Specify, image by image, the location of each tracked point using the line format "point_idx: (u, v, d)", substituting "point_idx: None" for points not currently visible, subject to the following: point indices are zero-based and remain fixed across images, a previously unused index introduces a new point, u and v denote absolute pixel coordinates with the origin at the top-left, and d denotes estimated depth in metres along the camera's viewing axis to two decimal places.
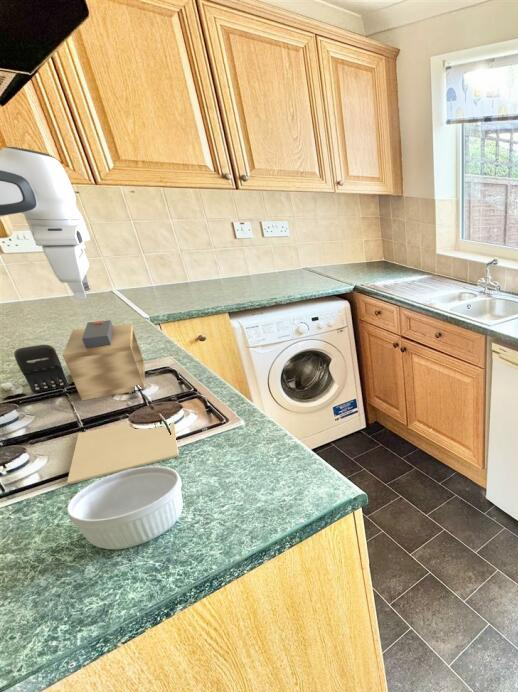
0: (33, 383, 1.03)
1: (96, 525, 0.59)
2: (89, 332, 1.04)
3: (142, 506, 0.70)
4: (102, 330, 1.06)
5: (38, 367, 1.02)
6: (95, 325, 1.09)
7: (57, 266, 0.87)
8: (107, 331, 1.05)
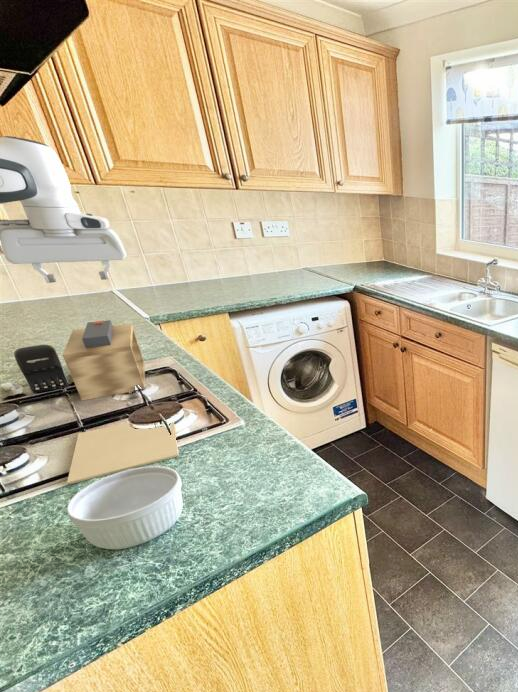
0: (33, 383, 1.03)
1: (96, 525, 0.59)
2: (89, 332, 1.04)
3: (142, 506, 0.70)
4: (102, 330, 1.06)
5: (38, 367, 1.02)
6: (95, 325, 1.09)
7: (121, 244, 1.03)
8: (107, 331, 1.05)
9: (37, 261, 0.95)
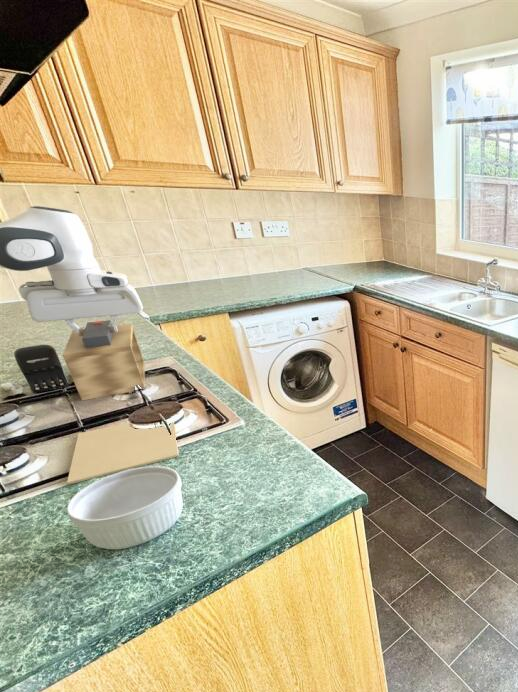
0: (33, 383, 1.03)
1: (96, 525, 0.59)
2: (89, 332, 1.04)
3: (142, 506, 0.70)
4: (102, 330, 1.06)
5: (38, 367, 1.02)
6: (95, 325, 1.09)
7: (138, 299, 1.09)
8: (107, 331, 1.05)
9: (60, 318, 1.01)
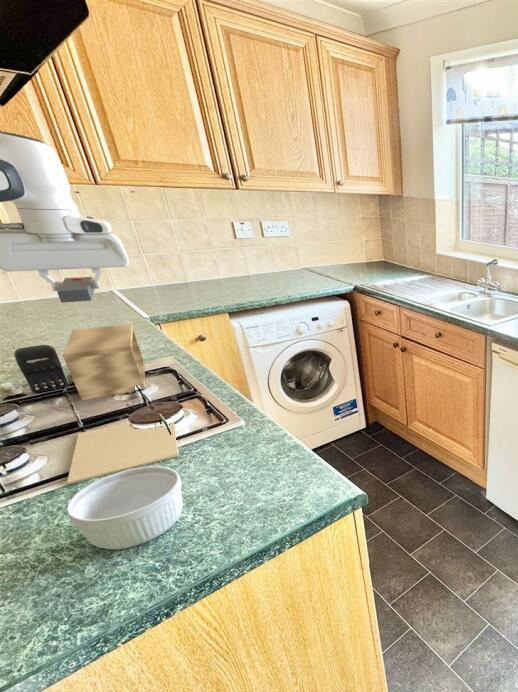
0: (33, 383, 1.03)
1: (96, 525, 0.59)
2: (66, 286, 0.90)
3: (142, 506, 0.70)
4: (81, 285, 0.92)
5: (38, 367, 1.02)
6: (74, 280, 0.95)
7: (124, 250, 0.95)
8: (87, 285, 0.91)
9: (32, 268, 0.87)
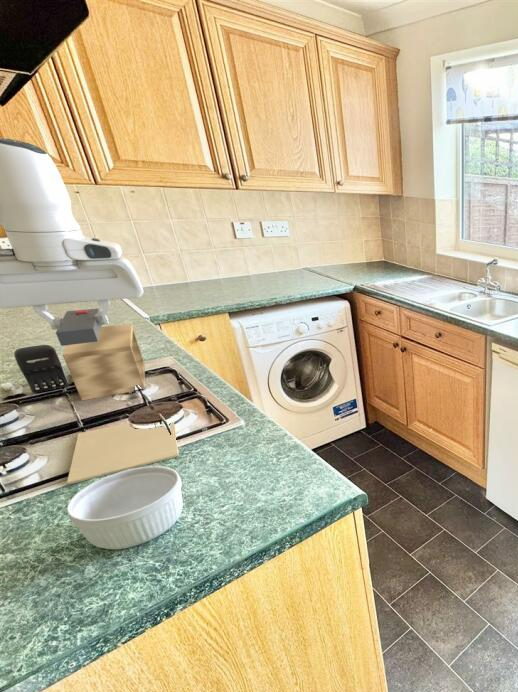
0: (33, 383, 1.03)
1: (96, 525, 0.59)
2: (67, 324, 0.73)
3: (142, 506, 0.70)
4: (86, 321, 0.75)
5: (38, 367, 1.02)
6: (77, 315, 0.78)
7: (137, 278, 0.78)
8: (93, 322, 0.75)
9: (25, 304, 0.70)
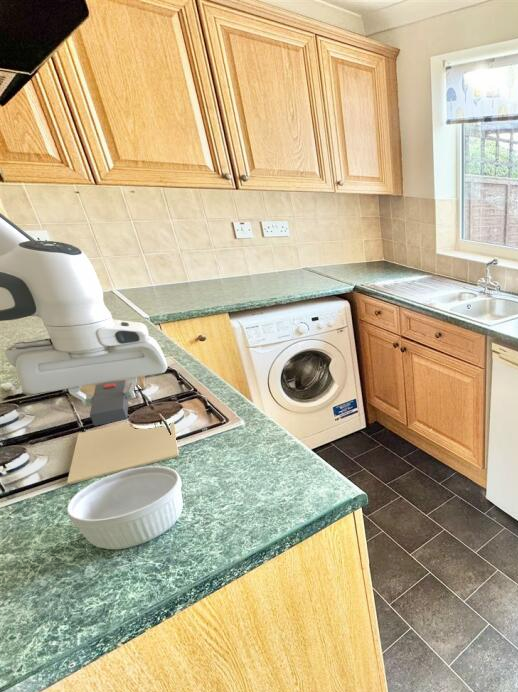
0: None
1: (96, 525, 0.59)
2: (99, 402, 0.79)
3: (142, 506, 0.70)
4: (115, 398, 0.81)
5: None
6: (106, 389, 0.84)
7: (162, 355, 0.84)
8: (122, 400, 0.80)
9: (61, 388, 0.76)
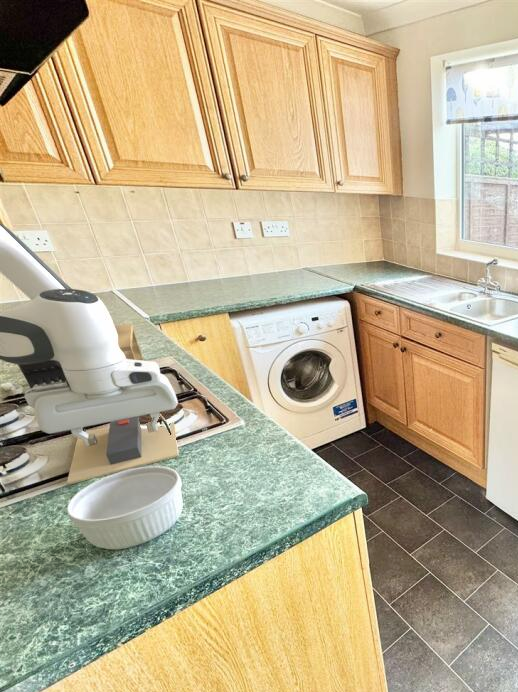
0: (33, 383, 1.03)
1: (96, 525, 0.59)
2: (114, 441, 0.83)
3: (142, 506, 0.70)
4: (130, 436, 0.84)
5: (38, 367, 1.02)
6: (120, 426, 0.87)
7: (173, 392, 0.87)
8: (136, 438, 0.84)
9: (77, 427, 0.79)
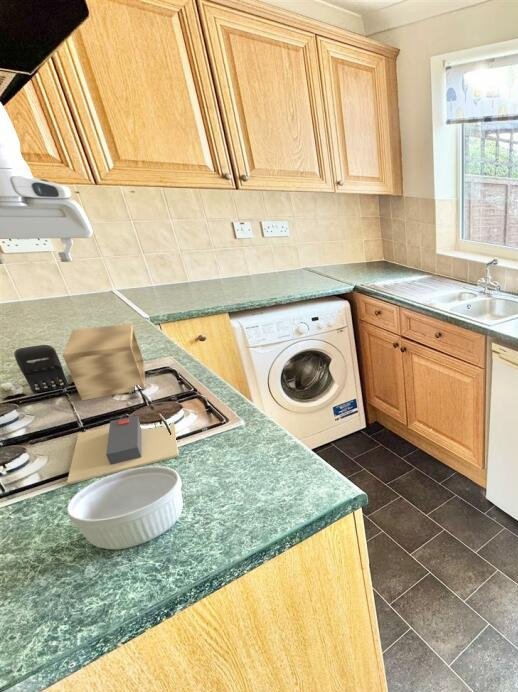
0: (33, 383, 1.03)
1: (96, 525, 0.59)
2: (114, 441, 0.83)
3: (142, 506, 0.70)
4: (130, 436, 0.84)
5: (38, 367, 1.02)
6: (120, 426, 0.87)
7: (86, 219, 0.84)
8: (136, 438, 0.84)
9: None
